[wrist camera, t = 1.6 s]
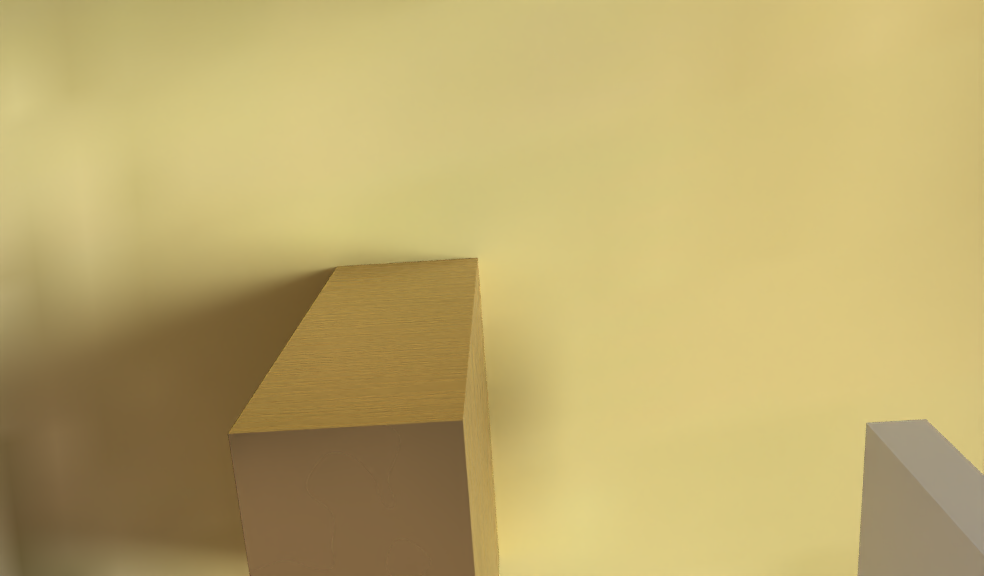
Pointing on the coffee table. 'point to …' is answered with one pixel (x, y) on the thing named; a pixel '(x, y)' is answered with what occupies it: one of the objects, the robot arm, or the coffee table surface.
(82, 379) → the coffee table surface
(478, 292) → the tan flat block
